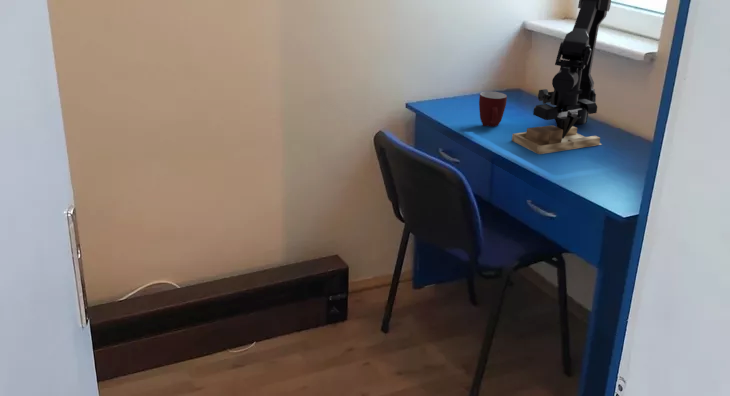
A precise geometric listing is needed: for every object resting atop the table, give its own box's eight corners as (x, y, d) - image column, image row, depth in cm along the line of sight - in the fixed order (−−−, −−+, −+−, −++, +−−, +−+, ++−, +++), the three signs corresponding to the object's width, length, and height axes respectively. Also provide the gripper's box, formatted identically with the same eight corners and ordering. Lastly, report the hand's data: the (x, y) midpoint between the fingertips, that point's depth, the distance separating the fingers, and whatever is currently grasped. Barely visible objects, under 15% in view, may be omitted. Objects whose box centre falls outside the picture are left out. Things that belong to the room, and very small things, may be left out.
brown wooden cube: (537, 141, 210) (539, 126, 209) (547, 146, 207) (550, 131, 205) (525, 143, 208) (527, 128, 207) (535, 148, 205) (537, 133, 203)
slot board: (573, 134, 221) (574, 125, 220) (601, 147, 211) (603, 137, 210) (511, 143, 211) (512, 133, 210) (538, 157, 201) (539, 147, 200)
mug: (509, 133, 219) (513, 101, 215) (482, 133, 218) (486, 101, 214) (498, 122, 229) (502, 91, 225) (473, 122, 228) (476, 91, 224)
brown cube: (550, 140, 212) (552, 125, 210) (560, 145, 209) (563, 129, 207) (538, 141, 210) (540, 126, 208) (548, 146, 207) (550, 131, 205)
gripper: (575, 74, 215) (567, 126, 221) (524, 80, 207) (517, 133, 213) (602, 84, 206) (593, 137, 212) (550, 90, 198) (542, 145, 204)
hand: (561, 138), depth 211 cm, fingers closed
